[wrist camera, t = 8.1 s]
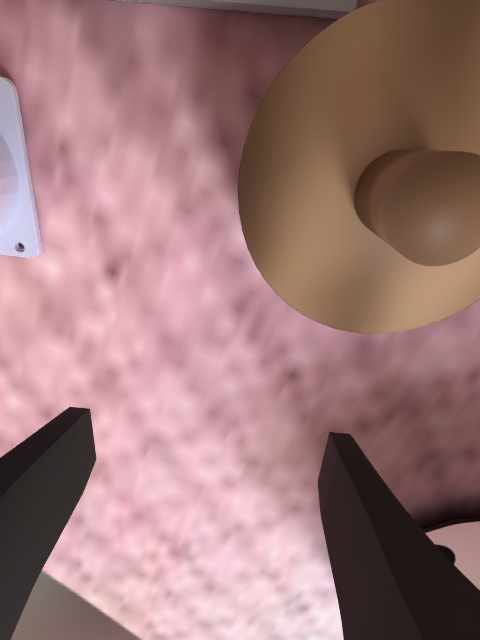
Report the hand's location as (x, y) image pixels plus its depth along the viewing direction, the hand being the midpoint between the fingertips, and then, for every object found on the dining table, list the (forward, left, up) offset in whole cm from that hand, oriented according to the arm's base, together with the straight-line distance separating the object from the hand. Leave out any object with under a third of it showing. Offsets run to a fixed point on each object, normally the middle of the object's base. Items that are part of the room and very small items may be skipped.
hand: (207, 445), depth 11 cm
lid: (+6, +7, -7) cm, 11 cm away
